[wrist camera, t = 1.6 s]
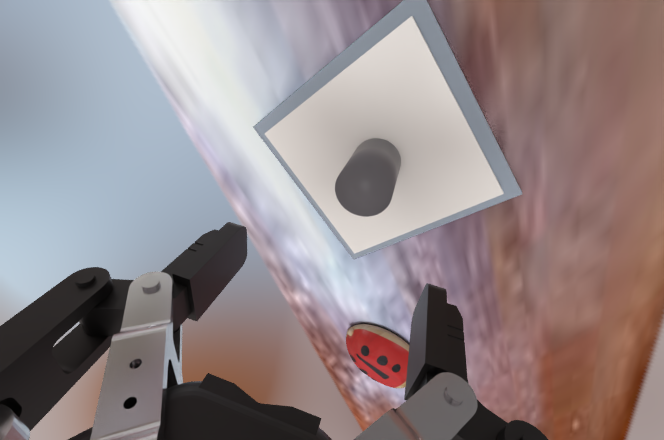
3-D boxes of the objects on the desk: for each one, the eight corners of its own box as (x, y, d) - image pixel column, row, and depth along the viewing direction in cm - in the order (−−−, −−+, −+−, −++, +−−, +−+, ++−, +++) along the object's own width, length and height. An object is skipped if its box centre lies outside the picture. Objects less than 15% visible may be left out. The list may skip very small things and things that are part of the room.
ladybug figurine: (398, 376, 39) (394, 404, 36) (334, 333, 38) (326, 359, 35) (435, 356, 35) (435, 386, 32) (365, 308, 34) (359, 335, 31)
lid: (268, 130, 25) (229, 155, 20) (412, 16, 18) (403, 13, 14) (356, 248, 29) (340, 292, 24) (502, 188, 22) (518, 233, 18)
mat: (256, 125, 26) (253, 127, 25) (420, -13, 18) (419, -14, 18) (355, 255, 30) (353, 259, 30) (520, 190, 22) (522, 193, 22)
